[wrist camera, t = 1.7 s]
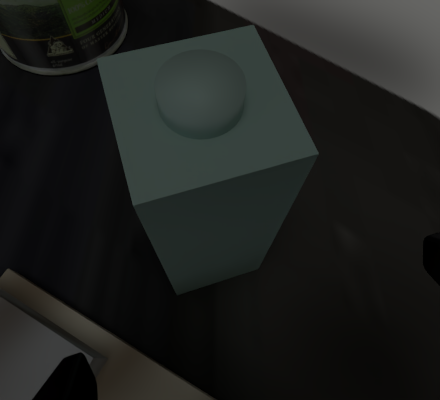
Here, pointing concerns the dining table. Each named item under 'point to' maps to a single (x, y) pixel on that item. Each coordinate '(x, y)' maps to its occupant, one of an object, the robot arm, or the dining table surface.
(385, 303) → the dining table surface
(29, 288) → the board
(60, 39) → the coffee can
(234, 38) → the pillar
